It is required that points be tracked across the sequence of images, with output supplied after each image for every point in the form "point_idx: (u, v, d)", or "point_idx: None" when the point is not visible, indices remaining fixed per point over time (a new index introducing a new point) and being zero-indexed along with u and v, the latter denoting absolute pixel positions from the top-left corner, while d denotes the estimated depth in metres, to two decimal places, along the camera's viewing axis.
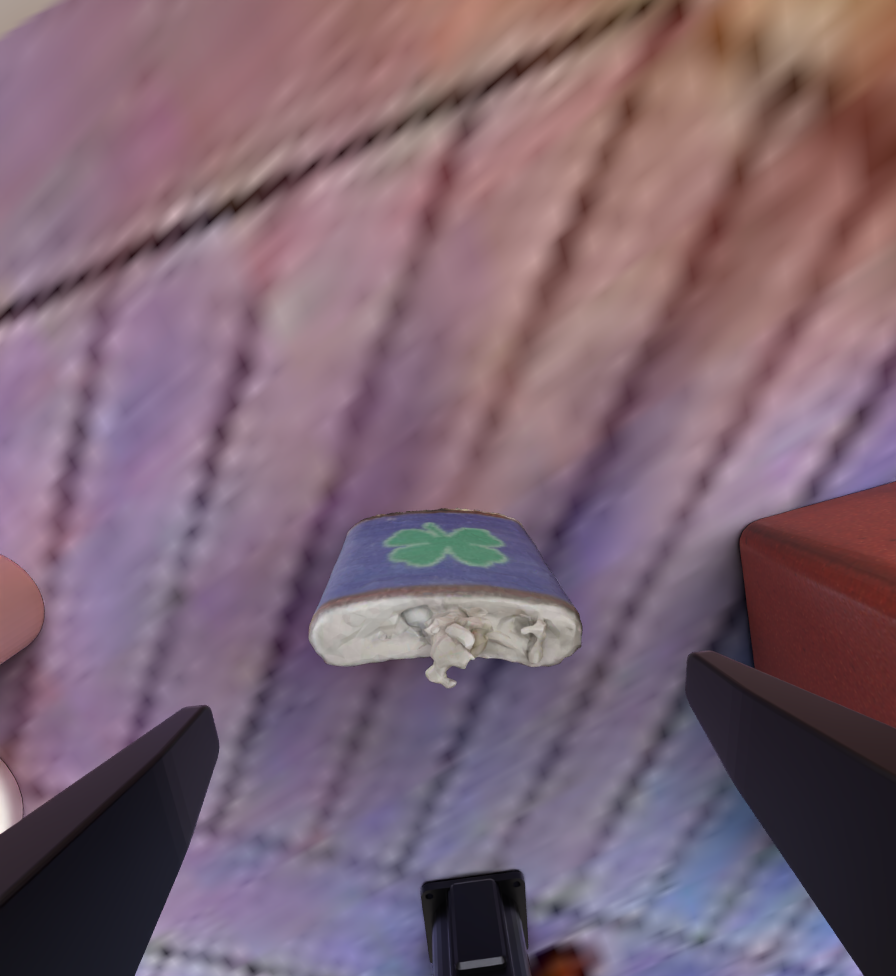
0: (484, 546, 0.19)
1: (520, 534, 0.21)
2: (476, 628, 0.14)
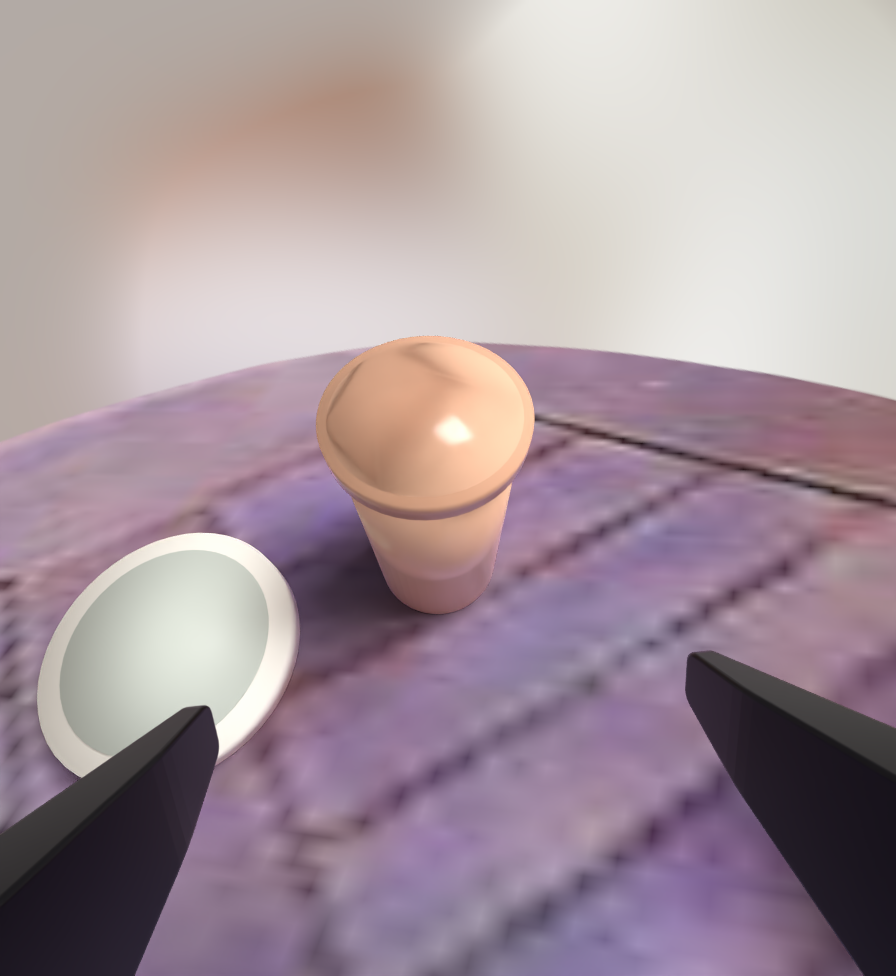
0: None
1: None
2: None
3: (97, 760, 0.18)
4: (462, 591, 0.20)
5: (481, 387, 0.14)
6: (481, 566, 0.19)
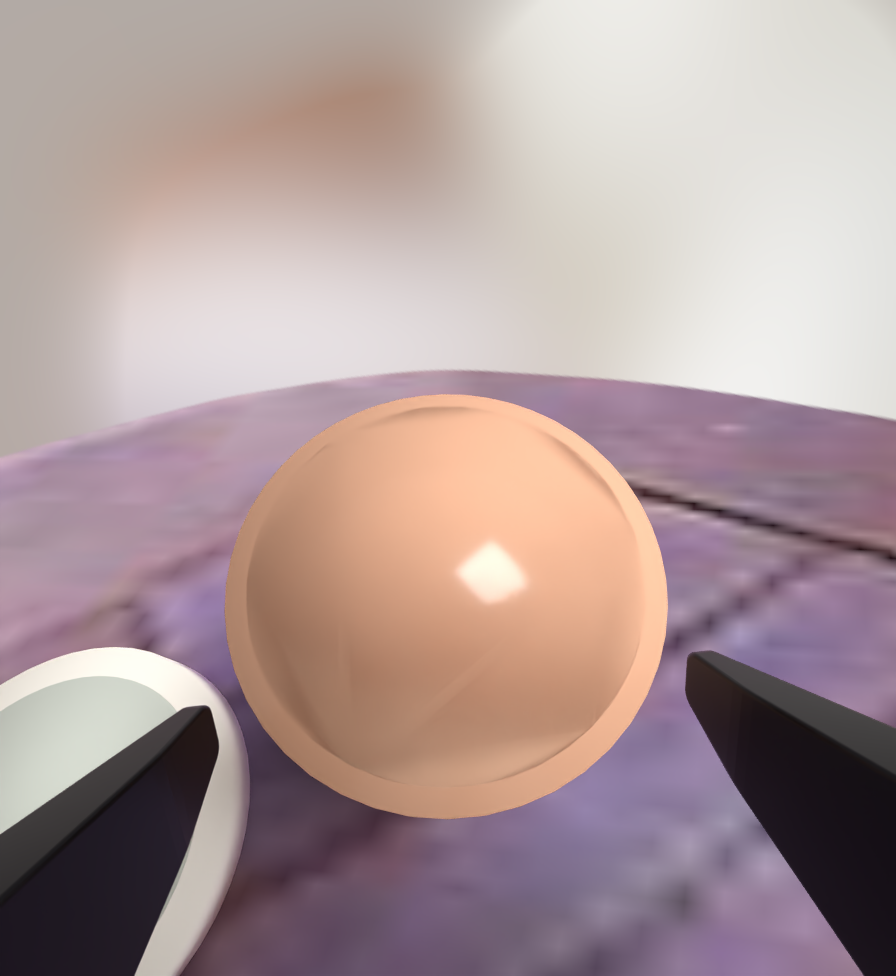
0: None
1: None
2: None
3: None
4: None
5: (552, 500, 0.07)
6: None
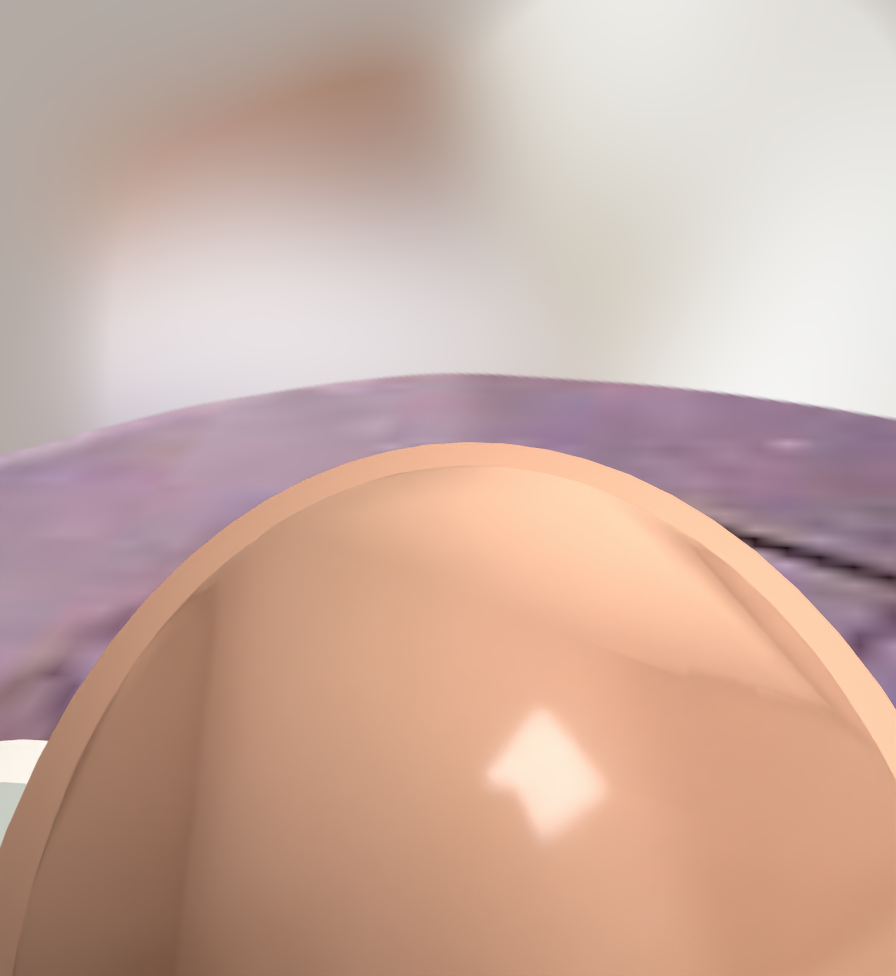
0: None
1: None
2: None
3: None
4: None
5: (697, 680, 0.04)
6: None
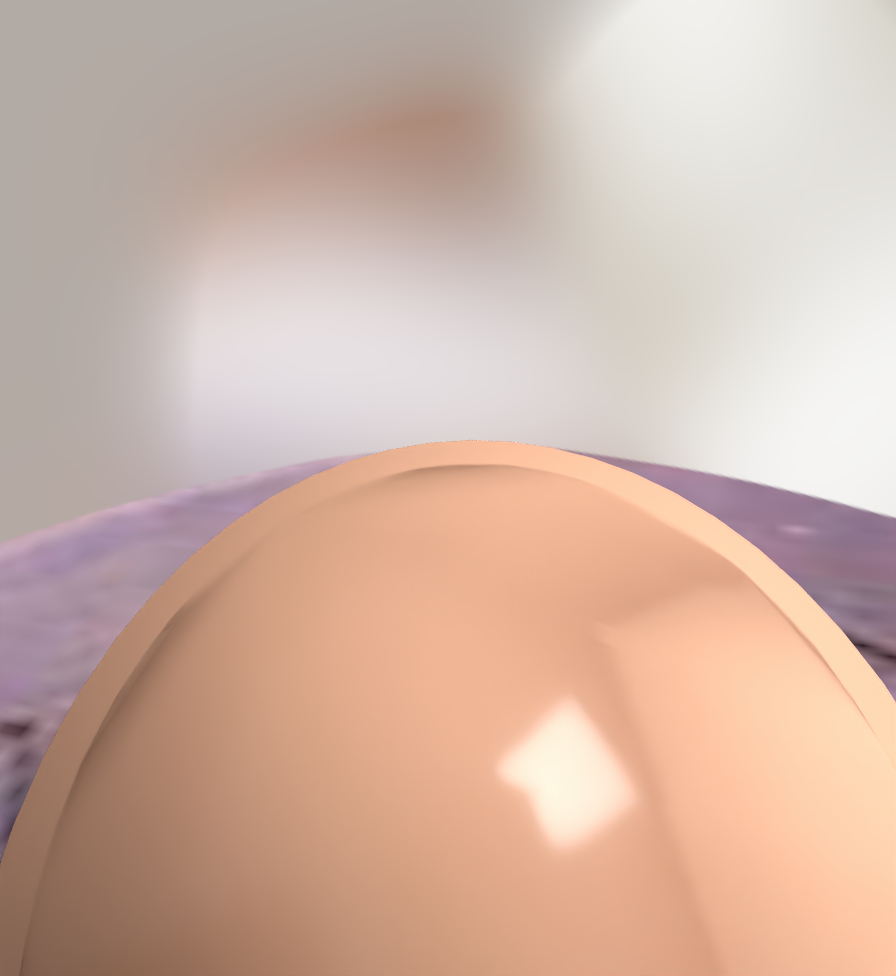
0: None
1: None
2: None
3: None
4: None
5: (700, 677, 0.04)
6: None
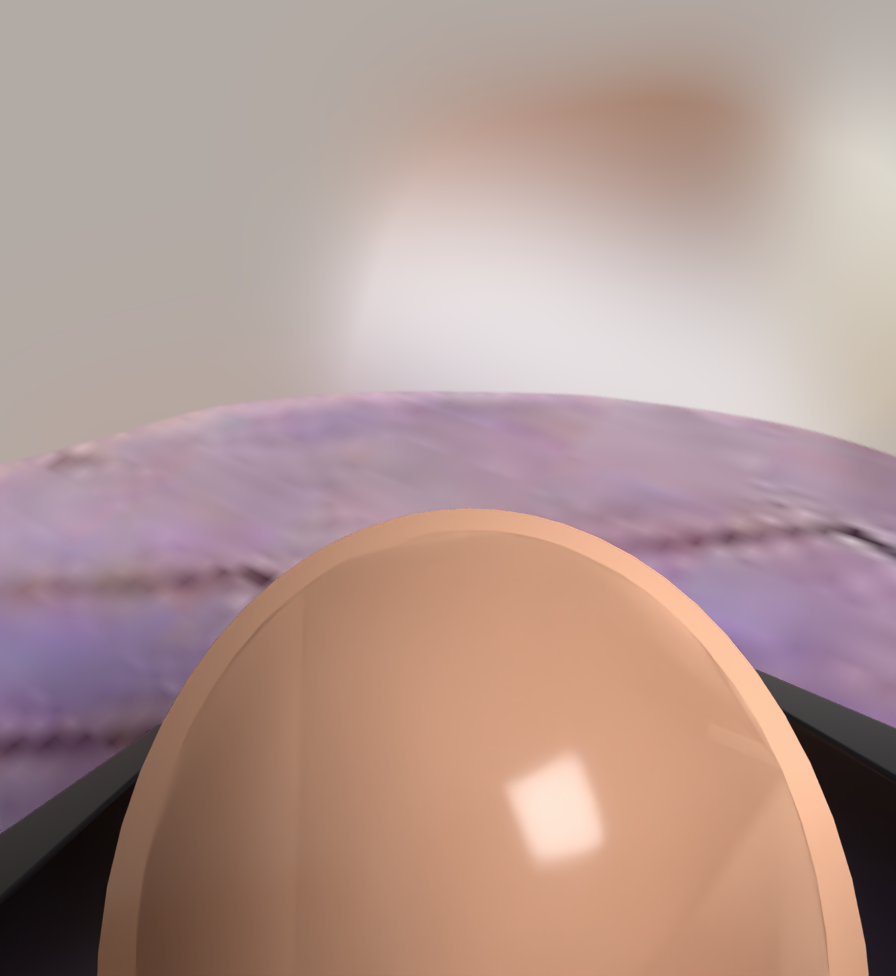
0: None
1: None
2: None
3: None
4: None
5: (644, 710, 0.05)
6: None
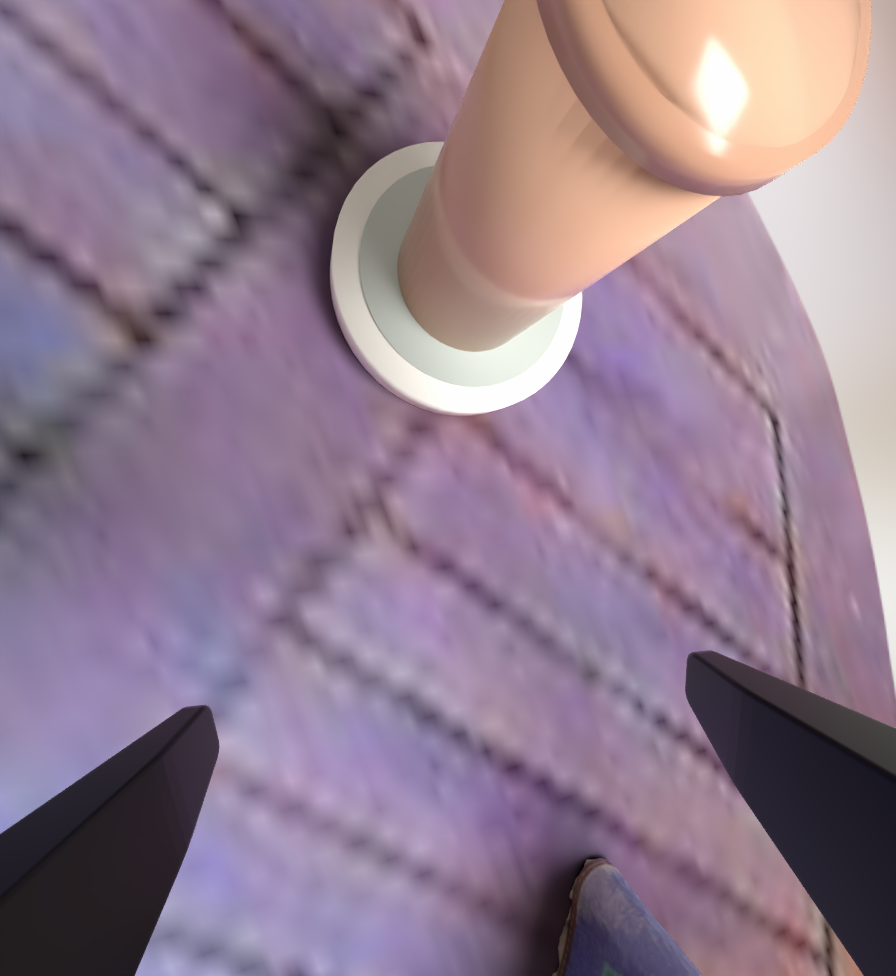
0: None
1: None
2: None
3: (352, 279, 0.17)
4: (473, 323, 0.16)
5: (819, 22, 0.08)
6: (521, 310, 0.14)
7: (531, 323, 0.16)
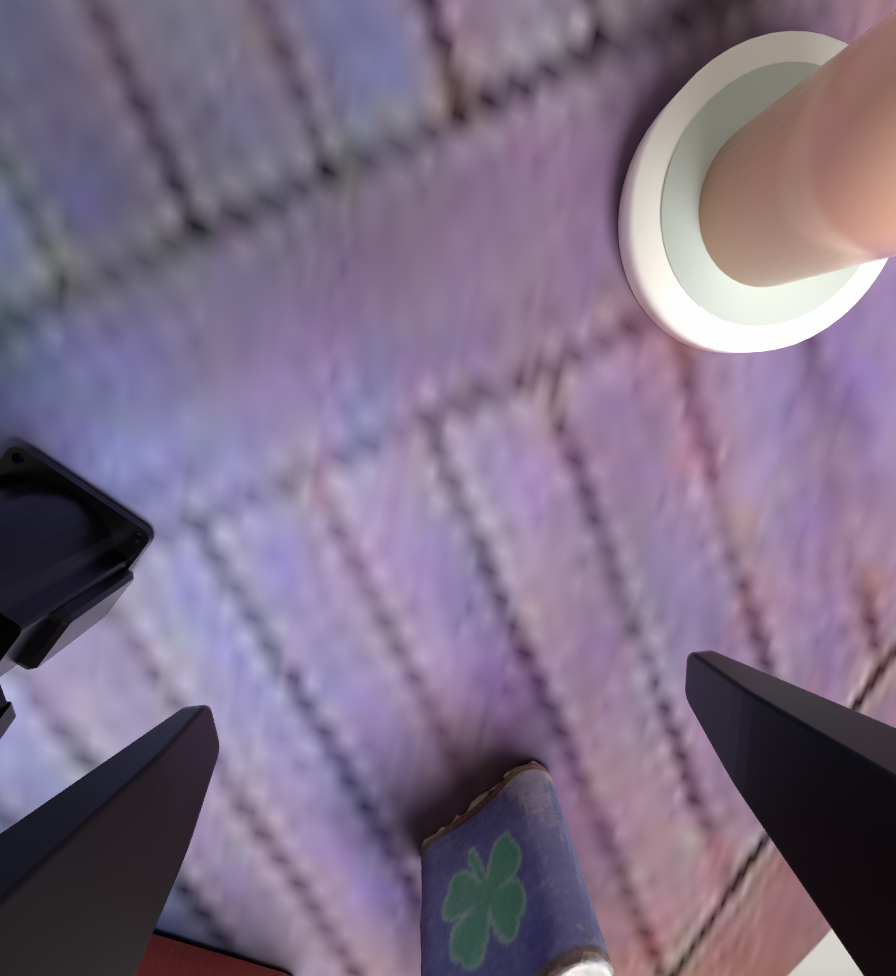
0: None
1: None
2: None
3: (667, 146, 0.17)
4: (765, 239, 0.15)
5: None
6: (831, 242, 0.13)
7: (819, 269, 0.15)
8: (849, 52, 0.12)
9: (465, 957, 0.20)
